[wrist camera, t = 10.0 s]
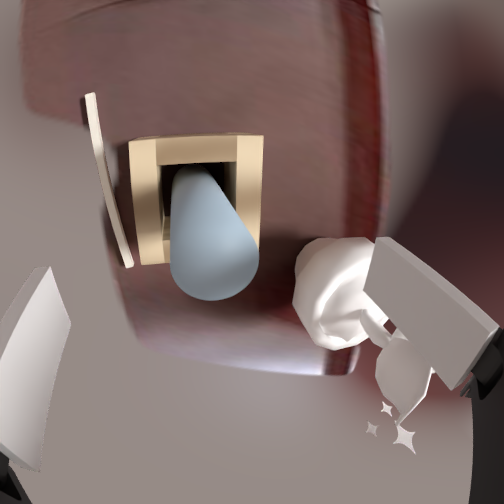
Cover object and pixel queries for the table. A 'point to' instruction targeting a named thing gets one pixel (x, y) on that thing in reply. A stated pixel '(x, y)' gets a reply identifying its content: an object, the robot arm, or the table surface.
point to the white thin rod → (106, 179)
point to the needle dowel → (208, 238)
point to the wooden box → (192, 151)
